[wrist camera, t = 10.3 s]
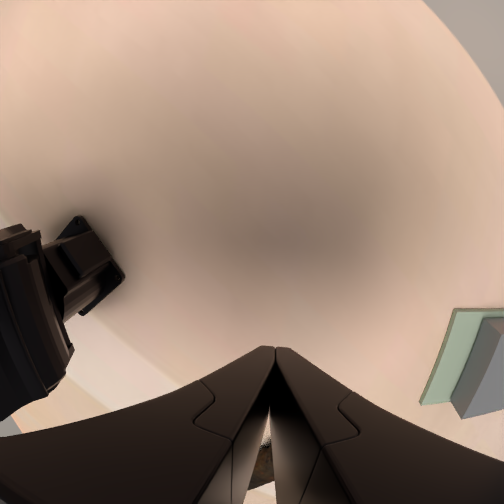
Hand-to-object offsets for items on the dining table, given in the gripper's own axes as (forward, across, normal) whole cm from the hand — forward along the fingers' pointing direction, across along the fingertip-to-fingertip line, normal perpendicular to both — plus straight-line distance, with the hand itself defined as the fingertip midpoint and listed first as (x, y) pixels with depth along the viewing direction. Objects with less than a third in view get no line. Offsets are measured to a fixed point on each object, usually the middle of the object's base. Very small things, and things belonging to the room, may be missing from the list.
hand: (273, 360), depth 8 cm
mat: (+13, +22, -9) cm, 27 cm away
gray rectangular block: (+11, +18, -9) cm, 23 cm away
